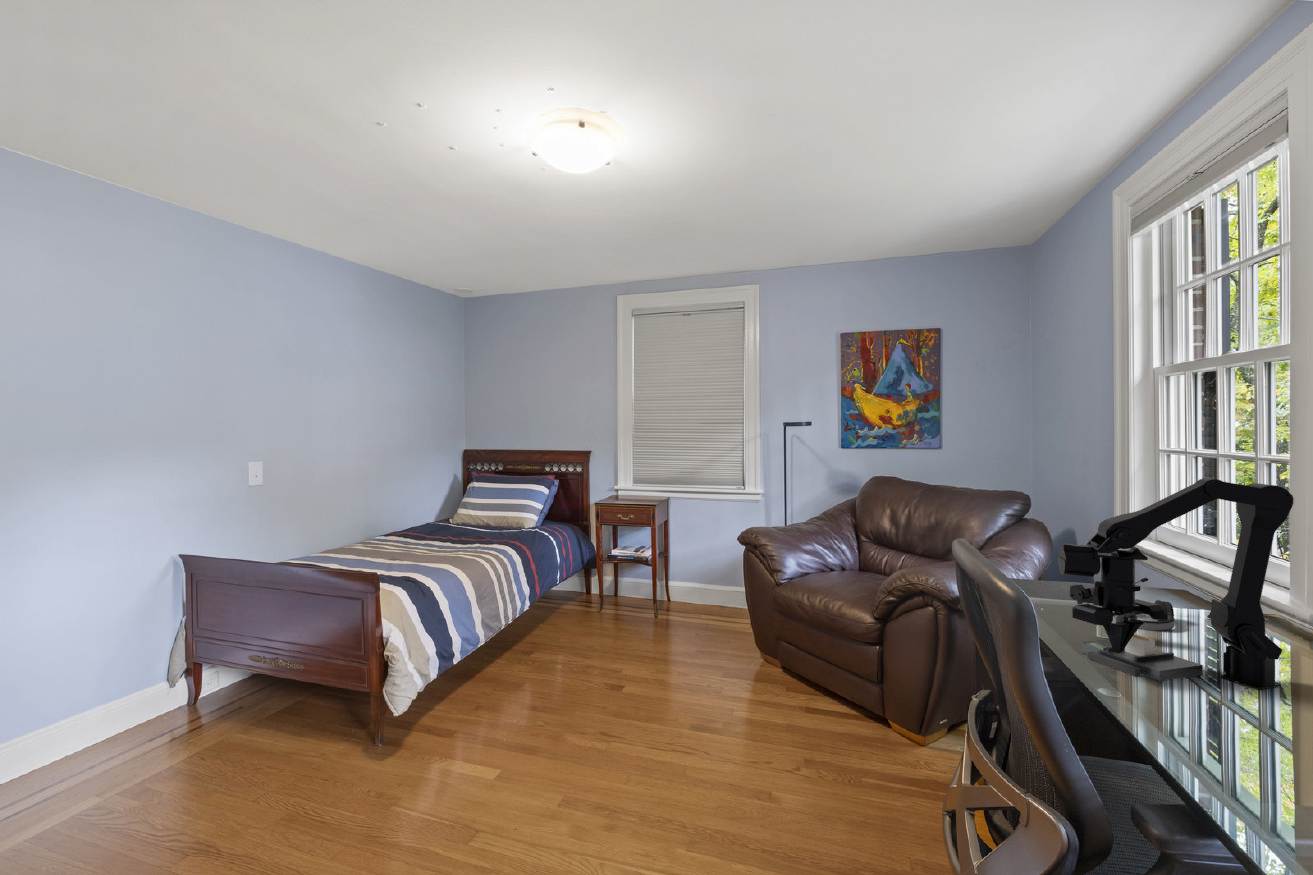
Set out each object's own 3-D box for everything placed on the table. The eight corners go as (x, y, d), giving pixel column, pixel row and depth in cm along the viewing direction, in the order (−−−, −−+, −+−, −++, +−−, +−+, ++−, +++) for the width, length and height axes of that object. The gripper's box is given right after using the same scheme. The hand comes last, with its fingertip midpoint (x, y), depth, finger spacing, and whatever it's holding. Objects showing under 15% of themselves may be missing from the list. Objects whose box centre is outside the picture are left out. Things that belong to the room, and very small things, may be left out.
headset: (1172, 580, 160) (1176, 604, 145) (1171, 614, 161) (1176, 641, 145) (1109, 572, 169) (1107, 594, 153) (1109, 605, 169) (1107, 630, 154)
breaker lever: (1154, 656, 125) (1154, 638, 125) (1144, 657, 124) (1144, 639, 124) (1135, 650, 129) (1135, 632, 129) (1124, 651, 128) (1124, 633, 128)
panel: (1202, 674, 120) (1202, 661, 120) (1159, 680, 117) (1159, 666, 117) (1122, 647, 136) (1122, 635, 136) (1082, 652, 133) (1082, 640, 133)
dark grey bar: (1140, 675, 120) (1140, 668, 120) (1135, 676, 120) (1135, 669, 120) (1092, 657, 130) (1092, 651, 130) (1087, 658, 129) (1087, 652, 129)
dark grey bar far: (1122, 646, 137) (1122, 640, 137) (1089, 650, 134) (1089, 644, 134) (1116, 644, 138) (1116, 638, 138) (1083, 648, 136) (1083, 642, 136)
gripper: (1112, 568, 135) (1112, 636, 135) (1048, 573, 130) (1048, 643, 130) (1165, 579, 124) (1165, 653, 124) (1098, 585, 119) (1098, 661, 119)
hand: (1117, 652), depth 125 cm, fingers closed
